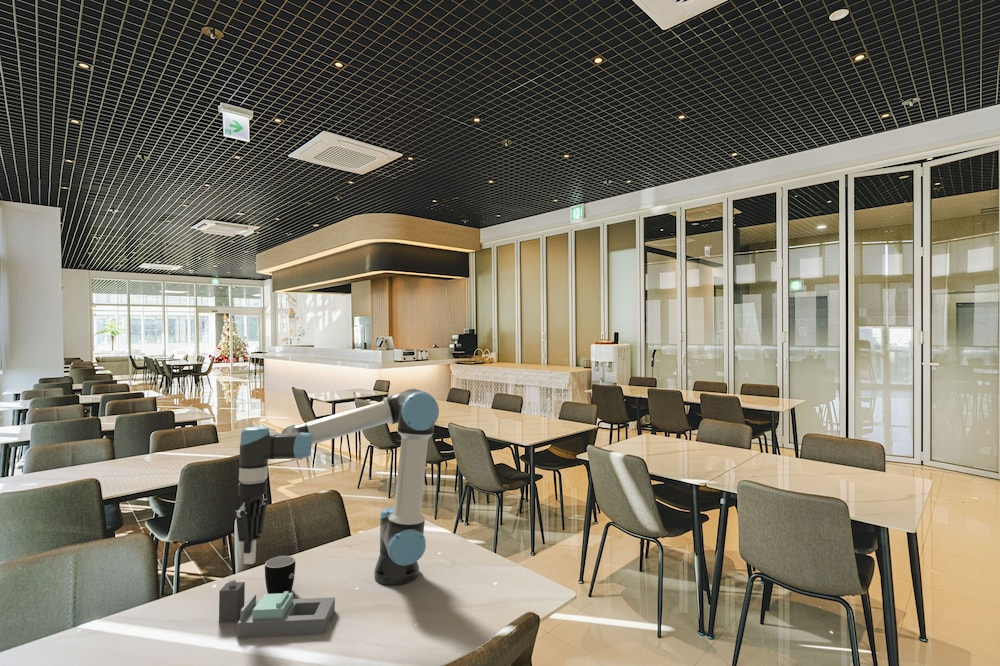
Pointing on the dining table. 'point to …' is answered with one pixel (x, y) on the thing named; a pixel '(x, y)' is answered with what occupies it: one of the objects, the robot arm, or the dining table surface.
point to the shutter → (273, 605)
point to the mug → (279, 574)
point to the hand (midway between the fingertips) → (249, 562)
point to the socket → (288, 619)
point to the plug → (231, 601)
